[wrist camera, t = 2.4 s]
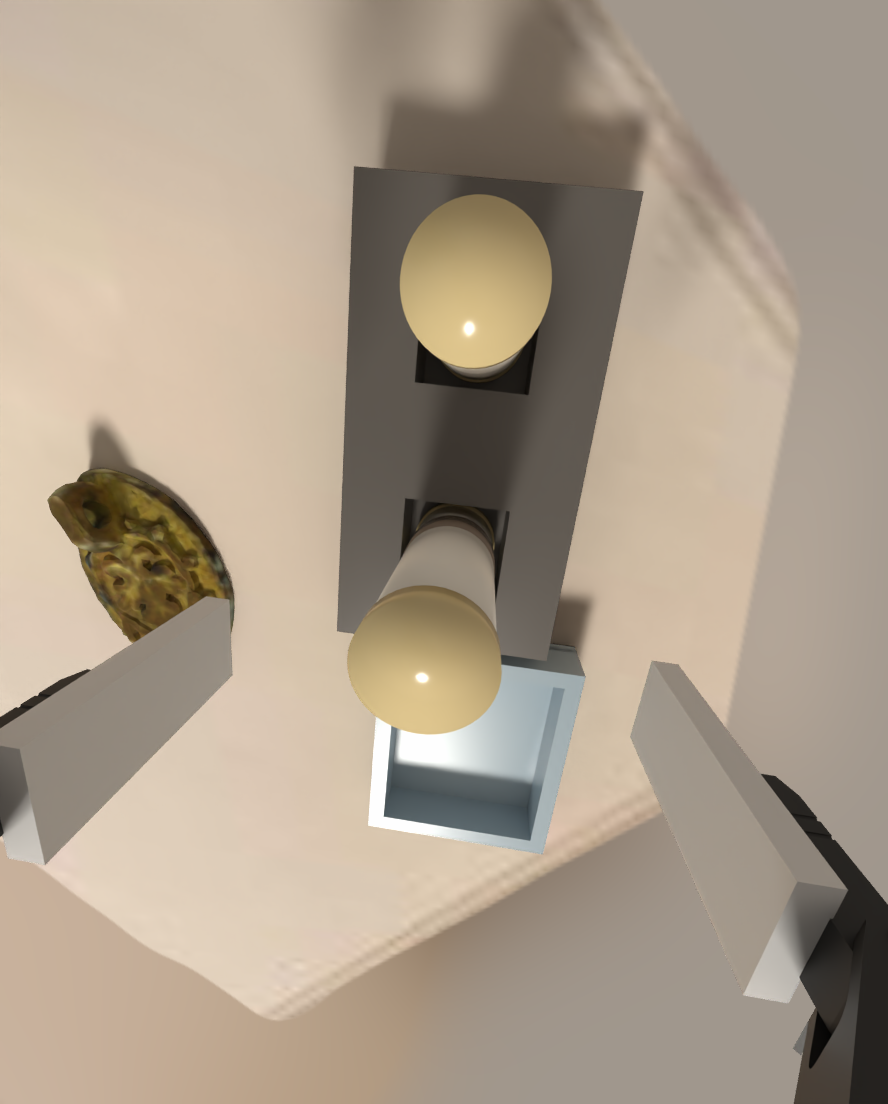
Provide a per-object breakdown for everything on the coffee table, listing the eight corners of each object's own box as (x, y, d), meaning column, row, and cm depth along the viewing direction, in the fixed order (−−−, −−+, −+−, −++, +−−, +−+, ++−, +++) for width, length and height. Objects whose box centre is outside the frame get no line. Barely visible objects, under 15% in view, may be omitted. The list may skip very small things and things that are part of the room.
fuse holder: (376, 206, 23) (354, 166, 19) (616, 228, 22) (643, 191, 18) (356, 602, 30) (337, 631, 26) (538, 627, 29) (546, 661, 25)
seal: (278, 634, 32) (160, 440, 29) (252, 668, 28) (108, 443, 24) (168, 682, 33) (40, 499, 30) (126, 722, 29) (-32, 513, 25)
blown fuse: (420, 496, 26) (350, 588, 13) (499, 505, 26) (513, 610, 12) (413, 570, 27) (344, 722, 14) (488, 580, 27) (489, 745, 14)
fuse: (440, 280, 22) (406, 187, 13) (531, 289, 22) (565, 201, 13) (431, 378, 24) (394, 358, 14) (517, 387, 24) (537, 374, 14)
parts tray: (392, 621, 30) (381, 647, 26) (574, 646, 29) (585, 676, 26) (379, 785, 34) (368, 825, 31) (537, 811, 33) (542, 854, 30)
